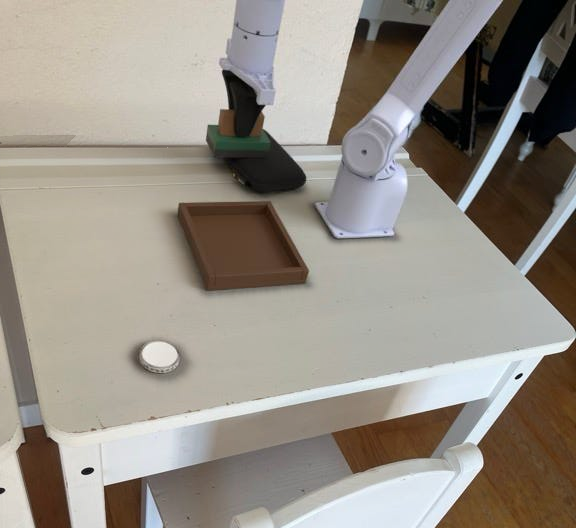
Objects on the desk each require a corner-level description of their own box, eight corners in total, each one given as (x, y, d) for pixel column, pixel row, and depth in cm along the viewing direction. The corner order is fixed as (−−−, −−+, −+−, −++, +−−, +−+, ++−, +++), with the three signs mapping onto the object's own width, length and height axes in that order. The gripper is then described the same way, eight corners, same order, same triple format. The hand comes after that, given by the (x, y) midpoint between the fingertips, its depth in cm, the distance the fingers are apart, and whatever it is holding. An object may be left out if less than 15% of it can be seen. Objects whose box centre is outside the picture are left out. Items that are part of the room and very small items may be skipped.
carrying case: (200, 145, 93) (245, 201, 86) (202, 126, 91) (249, 182, 84) (261, 140, 98) (309, 192, 91) (265, 122, 96) (314, 174, 89)
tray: (267, 214, 85) (270, 200, 84) (305, 283, 77) (309, 270, 75) (177, 216, 80) (178, 202, 79) (207, 291, 72) (209, 276, 70)
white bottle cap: (152, 338, 65) (153, 334, 65) (186, 354, 65) (187, 350, 64) (131, 361, 62) (131, 357, 62) (166, 378, 62) (166, 374, 61)
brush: (205, 140, 88) (210, 103, 84) (258, 141, 91) (264, 105, 87) (214, 157, 86) (219, 120, 82) (267, 158, 89) (275, 122, 85)
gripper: (209, -1, 79) (198, 104, 89) (243, 49, 71) (226, 158, 81) (261, 5, 82) (244, 106, 92) (299, 54, 74) (276, 159, 84)
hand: (239, 130), depth 87 cm, fingers closed on brush, 2 cm apart
